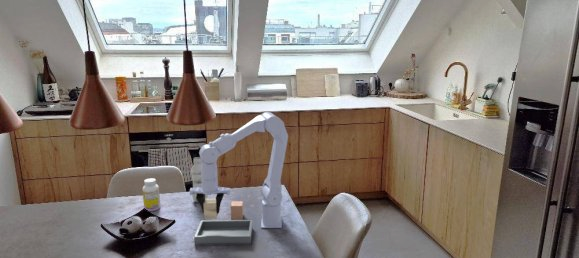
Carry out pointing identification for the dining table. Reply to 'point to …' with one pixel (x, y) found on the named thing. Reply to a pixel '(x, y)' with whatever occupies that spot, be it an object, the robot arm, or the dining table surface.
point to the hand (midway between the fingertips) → (211, 212)
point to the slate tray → (223, 232)
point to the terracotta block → (237, 210)
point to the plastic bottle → (197, 176)
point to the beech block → (210, 208)
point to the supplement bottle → (151, 195)
